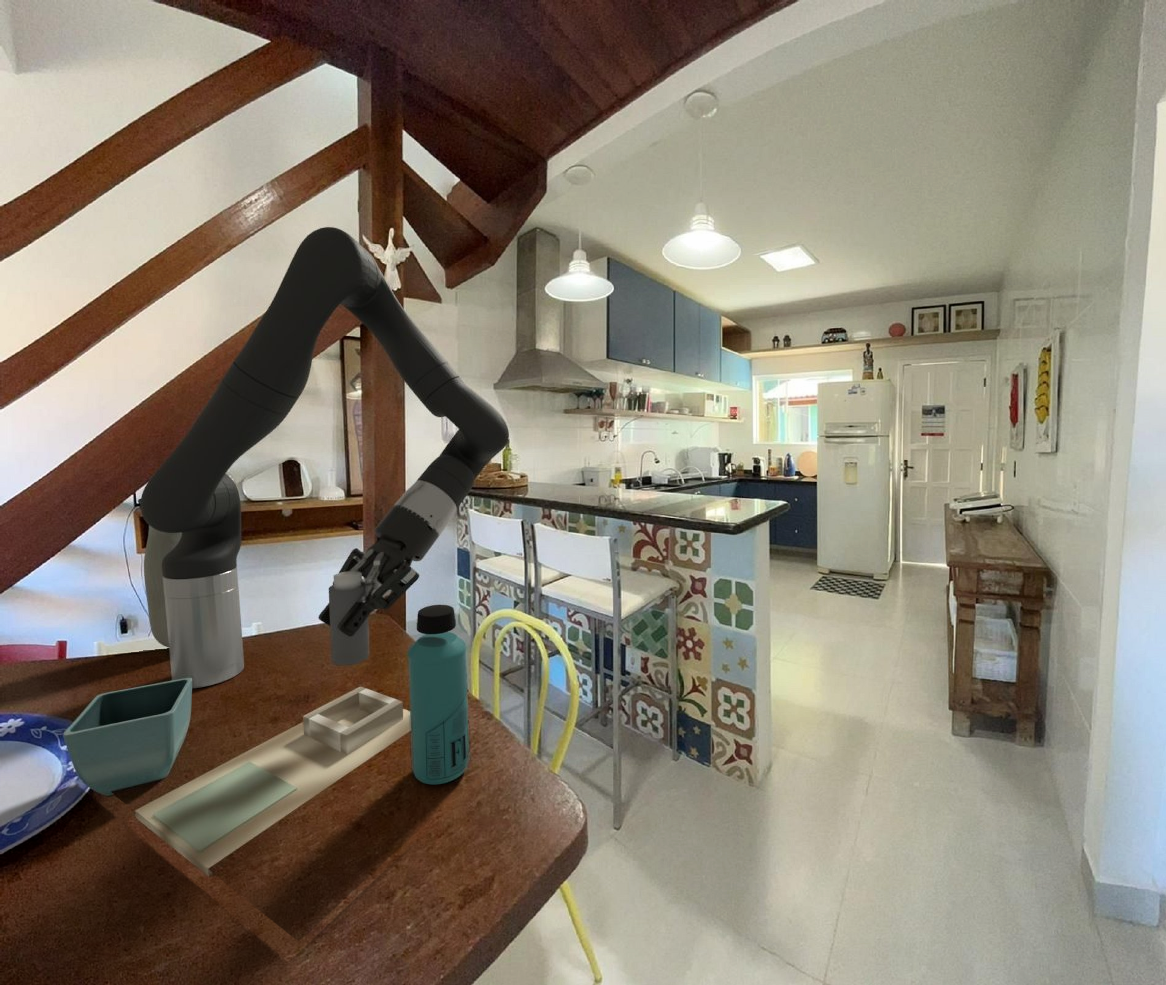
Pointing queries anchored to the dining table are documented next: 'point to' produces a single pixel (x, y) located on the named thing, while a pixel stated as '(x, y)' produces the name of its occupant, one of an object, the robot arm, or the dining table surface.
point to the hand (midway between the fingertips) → (334, 627)
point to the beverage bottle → (438, 698)
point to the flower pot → (130, 735)
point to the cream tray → (274, 777)
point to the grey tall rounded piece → (157, 580)
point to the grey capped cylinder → (340, 603)
